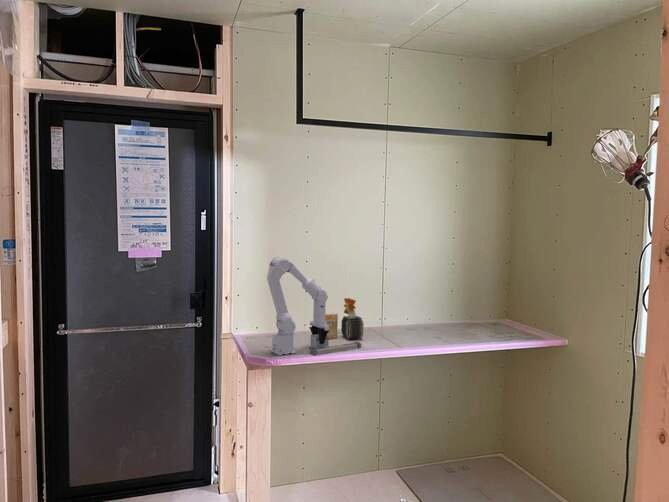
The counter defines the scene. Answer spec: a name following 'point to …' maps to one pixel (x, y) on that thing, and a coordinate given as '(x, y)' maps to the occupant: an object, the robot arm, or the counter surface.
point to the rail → (335, 348)
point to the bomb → (351, 322)
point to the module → (316, 343)
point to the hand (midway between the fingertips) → (319, 342)
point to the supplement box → (332, 324)
